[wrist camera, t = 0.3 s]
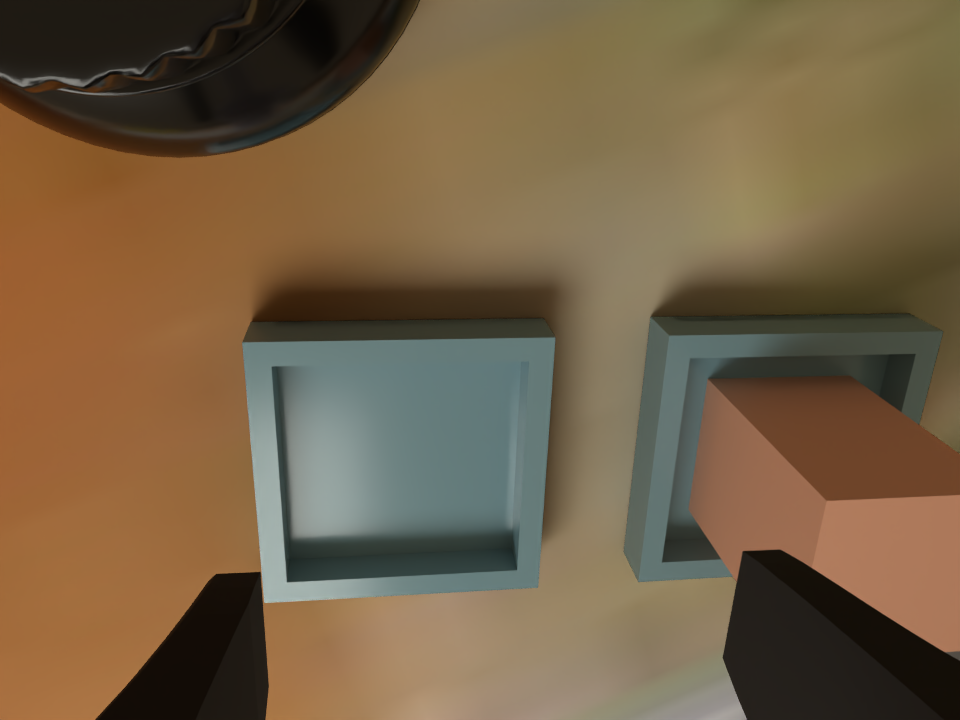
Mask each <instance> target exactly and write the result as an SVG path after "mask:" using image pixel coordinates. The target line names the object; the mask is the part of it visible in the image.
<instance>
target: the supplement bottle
mask: <svg viewBox="0 0 960 720" xmlns="http://www.w3.org/2000/svg"><path fill="white" fill-rule="evenodd" d="M419 1H420V0H0V103H2V104H3V105H5V106H6V107H8V108H9V109H11V110H13V111H15V112H17V113H19V114H21V115H22V116H24V117H26V118H28V119H30V120H32V121H34V122H35V123H38V124H40V125H42V126H44V127H47V128H49V129H51V130H54V131H56V132H58V133H61V134H63V135H65V136H68V137H71V138H74V139H77V140H80V141H83V142H86V143H89V144H92V145H95V146H99V147H103V148H108V149H112V150H116V151H120V152H125V153H132V154H139V155H146V156H156V157H176V158H182V157H202V156H211V155H218V154H225V153H231V152H236V151H240V150H244V149H248V148H251V147H255V146H259V145H262V144H265V143H267V142H270V141H273V140H275V139H278V138H281V137H284V136H286V135H289V134H291V133H293V132H295V131H297V130H299V129H301V128H303V127H305V126H307V125H309V124H311V123H312V122H314V121H315V120H317V119H319V118H320V117H322V116H323V115H325V114H326V113H328V112H330V111H331V110H333V109H334V108H335V107H336V106H338V105H339V104H340V103H341V102H343V101H344V100H345V99H347V98H348V97H349V96H350V95H352V94H353V93H354V92H355V91H356V90H357V89H358V88H359V87H360V86H361V85H362V84H363V83H364V82H365V81H366V80H367V79H368V78H369V77H370V76H371V75H372V74H373V73H374V71H375V70H376V69H377V68H378V67H379V65H380V64H381V63H382V62H383V61H384V59H385V58H386V57H387V56H388V55H389V53H390V52H391V50H392V49H393V47H394V46H395V44H396V43H397V41H398V40H399V38H400V37H401V35H402V34H403V32H404V30H405V28H406V27H407V25H408V23H409V21H410V19H411V17H412V16H413V14H414V12H415V10H416V8H417V6H418V3H419Z"/></svg>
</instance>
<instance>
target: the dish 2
mask: <svg viewBox="0 0 960 720" xmlns="http://www.w3.org/2000/svg"><path fill="white" fill-rule="evenodd" d="M942 335H943V331H942V330H940V329H938V328H936V327H934V326H932V325H930V324H928V323H926V322H925V321H923V320H921V319H919V318H917V317H915V316H913V315H911V314H834V315H756V316H677V317H651V318H650V327H649V336H648V344H647V353H646V362H645V370H644V379H643V388H642V396H641V405H640V414H639V422H638V431H637V440H636V448H635V457H634V466H633V474H632V483H631V492H630V500H629V509H628V518H627V526H626V535H625V544H624V554H625V556H626V558H627V560H628V562H629V564H630V566H631V568H632V570H633V572H634V574H635V576H636V578H637V580H638V582H646V581H664V580H682V579H700V578H718V577H733V576H732V574H731V573H730V571H729V570H728V568H727V567H726V565H725V564H724V562H723V561H722V559H721V558H720V556H719V555H718V553H717V552H716V550H715V549H714V547H713V546H712V544H711V543H710V541H709V540H708V538H707V537H706V535H705V534H704V532H703V531H702V529H701V528H700V526H699V525H698V523H697V522H696V520H695V519H694V517H693V516H692V514H691V513H690V511H689V510H688V509H689V502H690V495H691V488H692V482H693V475H694V468H695V461H696V455H697V448H698V441H699V434H700V427H701V421H702V414H703V407H704V400H705V394H706V387H707V380H708V379H720V378H764V377H807V376H851V377H853V378H854V379H855V380H857V381H858V382H860V383H861V384H862V385H864V386H865V387H867V388H868V389H869V390H871V391H872V392H874V393H875V394H876V395H878V396H879V397H881V398H882V399H883V400H885V401H886V402H888V403H889V404H890V405H892V406H893V407H895V408H896V409H897V410H899V411H900V412H902V413H903V414H904V415H906V416H907V417H909V418H910V419H911V420H913V421H914V422H916V423H917V424H918V425H919V423H920V419H921V416H922V412H923V408H924V404H925V400H926V396H927V393H928V389H929V385H930V381H931V377H932V373H933V369H934V366H935V362H936V358H937V354H938V350H939V346H940V343H941V339H942Z"/></svg>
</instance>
